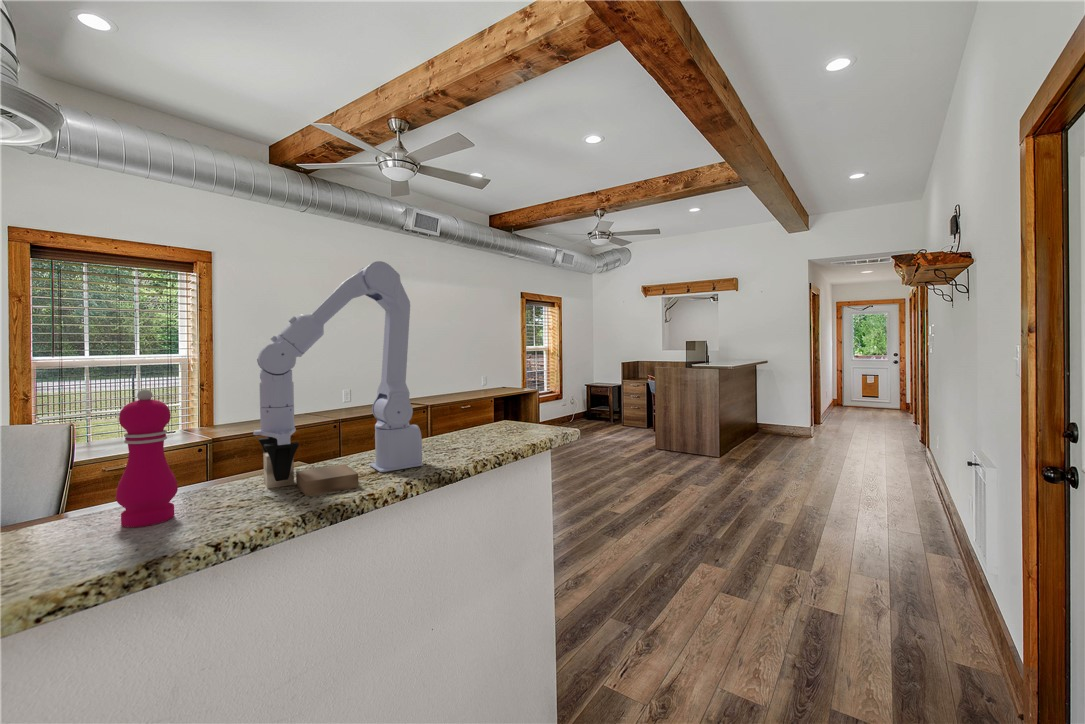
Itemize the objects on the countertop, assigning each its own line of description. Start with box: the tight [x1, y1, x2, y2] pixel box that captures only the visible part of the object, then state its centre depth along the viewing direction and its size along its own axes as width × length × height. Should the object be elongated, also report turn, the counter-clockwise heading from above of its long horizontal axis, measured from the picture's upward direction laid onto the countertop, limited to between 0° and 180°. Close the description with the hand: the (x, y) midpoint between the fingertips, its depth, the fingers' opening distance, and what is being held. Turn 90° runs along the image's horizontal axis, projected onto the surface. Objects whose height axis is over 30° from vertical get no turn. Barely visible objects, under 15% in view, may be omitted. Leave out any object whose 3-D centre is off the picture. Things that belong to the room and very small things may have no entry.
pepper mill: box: [115, 388, 179, 528], centre depth 72 cm, size 7×7×20 cm
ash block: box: [262, 451, 295, 489], centre depth 92 cm, size 4×4×6 cm
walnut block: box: [295, 463, 360, 497], centre depth 90 cm, size 9×9×3 cm
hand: (278, 476), depth 92 cm, fingers open, 6 cm apart
